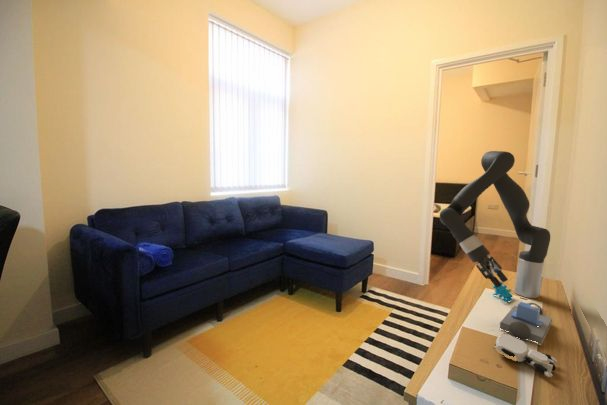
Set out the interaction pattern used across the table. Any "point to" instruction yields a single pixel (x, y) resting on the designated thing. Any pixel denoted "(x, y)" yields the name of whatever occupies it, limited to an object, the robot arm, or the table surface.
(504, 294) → the gear
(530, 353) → the robot toy
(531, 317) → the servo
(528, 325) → the chassis
